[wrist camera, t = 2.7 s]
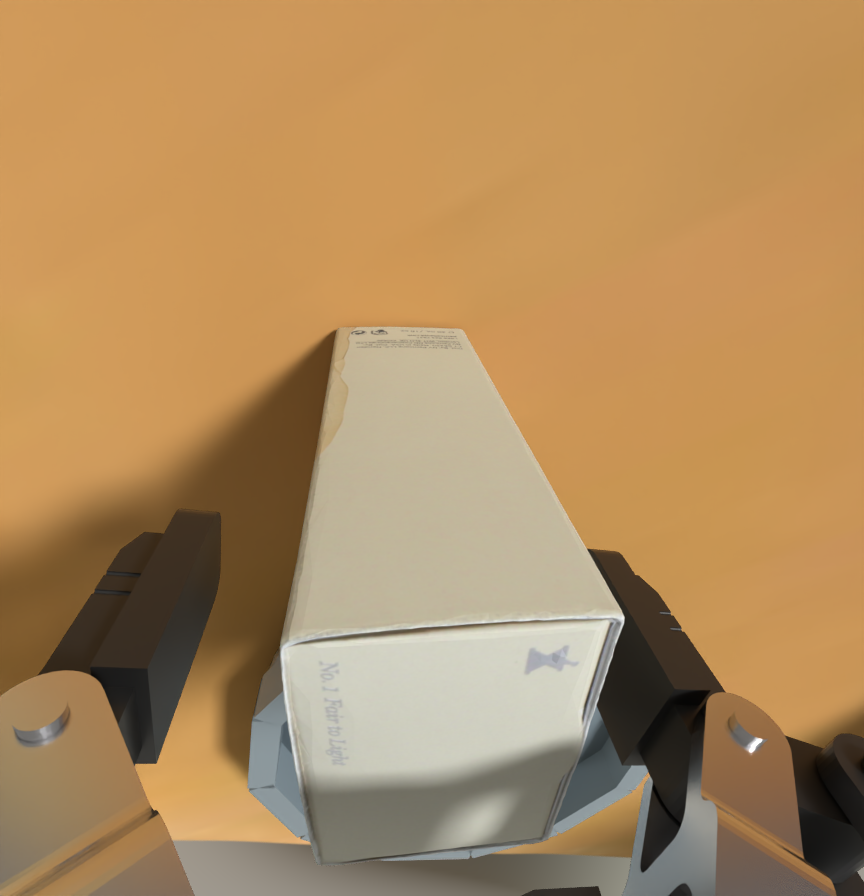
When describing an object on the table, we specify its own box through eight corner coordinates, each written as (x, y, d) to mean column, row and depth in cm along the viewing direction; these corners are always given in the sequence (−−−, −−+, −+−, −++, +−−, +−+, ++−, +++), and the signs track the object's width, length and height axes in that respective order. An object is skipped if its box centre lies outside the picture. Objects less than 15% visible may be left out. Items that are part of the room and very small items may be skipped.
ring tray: (709, 574, 23) (753, 628, 21) (568, 797, 33) (585, 855, 30) (276, 531, 20) (260, 590, 17) (255, 797, 29) (242, 864, 26)
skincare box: (335, 323, 16) (255, 623, 5) (470, 326, 16) (641, 605, 6) (342, 485, 19) (302, 880, 8) (456, 484, 19) (553, 854, 9)
